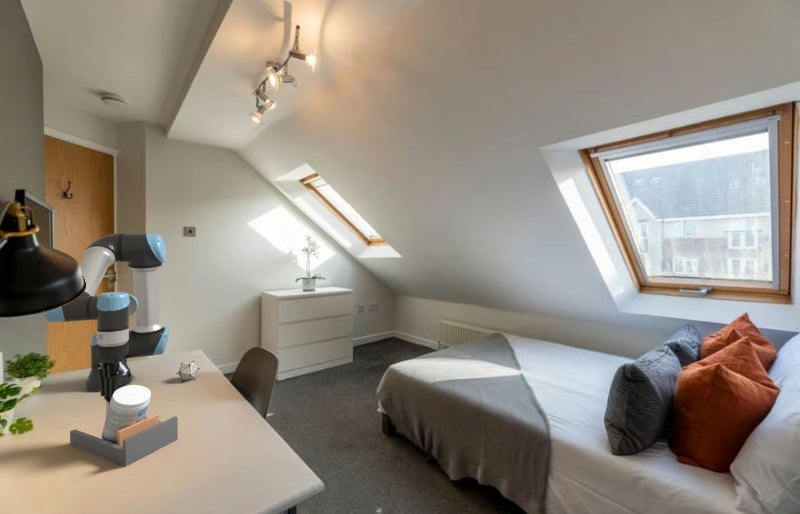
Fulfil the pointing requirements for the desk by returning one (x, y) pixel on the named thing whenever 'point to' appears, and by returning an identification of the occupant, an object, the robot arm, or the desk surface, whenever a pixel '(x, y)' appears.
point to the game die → (188, 371)
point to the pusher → (136, 428)
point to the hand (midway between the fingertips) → (112, 420)
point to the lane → (129, 442)
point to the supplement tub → (125, 410)
